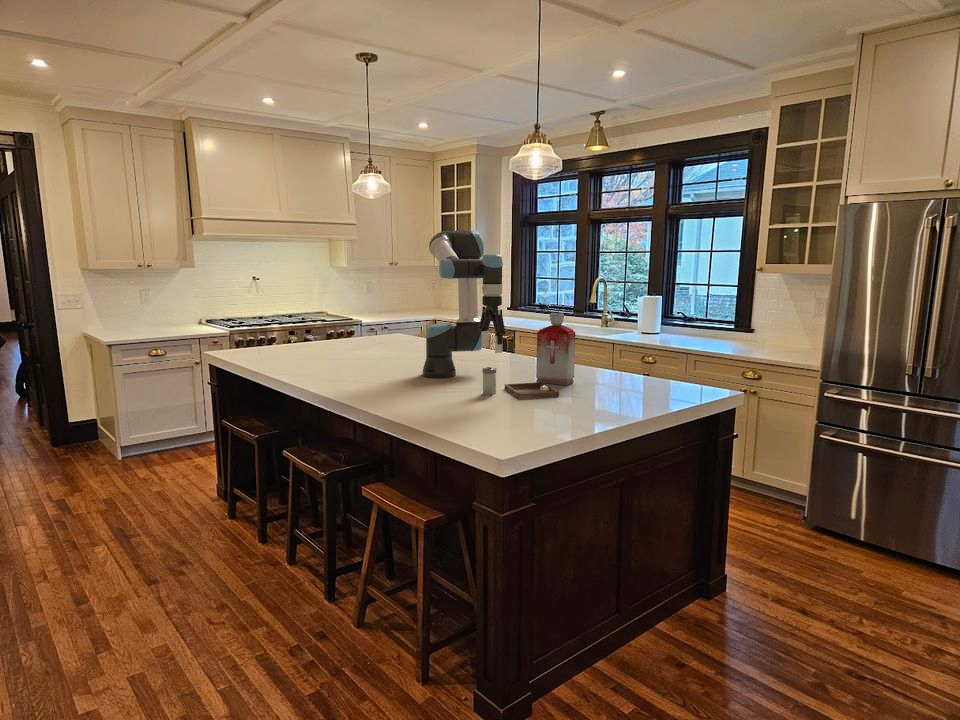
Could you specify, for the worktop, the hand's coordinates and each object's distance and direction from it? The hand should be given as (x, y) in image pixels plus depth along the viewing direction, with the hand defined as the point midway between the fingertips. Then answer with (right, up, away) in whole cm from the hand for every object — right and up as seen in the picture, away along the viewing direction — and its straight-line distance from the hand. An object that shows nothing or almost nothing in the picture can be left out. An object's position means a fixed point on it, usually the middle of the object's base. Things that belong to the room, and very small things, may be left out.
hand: (491, 350), depth 242 cm
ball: (+21, -17, +2) cm, 27 cm away
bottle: (+28, -14, +25) cm, 39 cm away
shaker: (-1, -17, +4) cm, 18 cm away
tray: (+16, -17, +5) cm, 24 cm away
